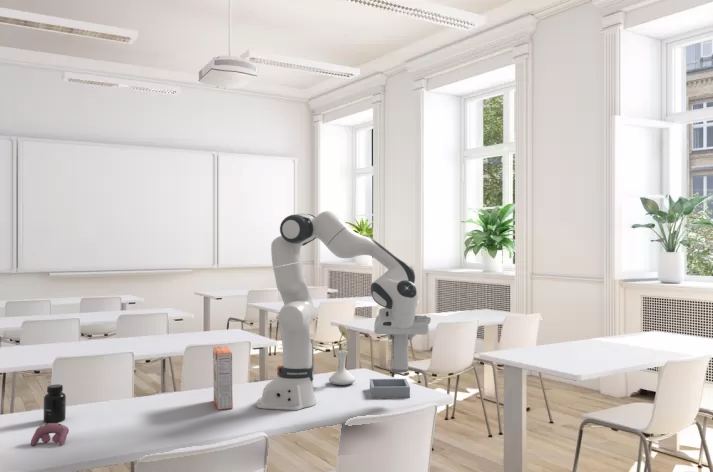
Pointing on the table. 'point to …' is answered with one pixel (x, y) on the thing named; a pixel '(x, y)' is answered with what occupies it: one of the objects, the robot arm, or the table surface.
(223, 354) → the cracker box
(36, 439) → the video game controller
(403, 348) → the travel mug
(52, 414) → the supplement bottle
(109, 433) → the table surface
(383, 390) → the tray
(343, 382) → the flower in vase
